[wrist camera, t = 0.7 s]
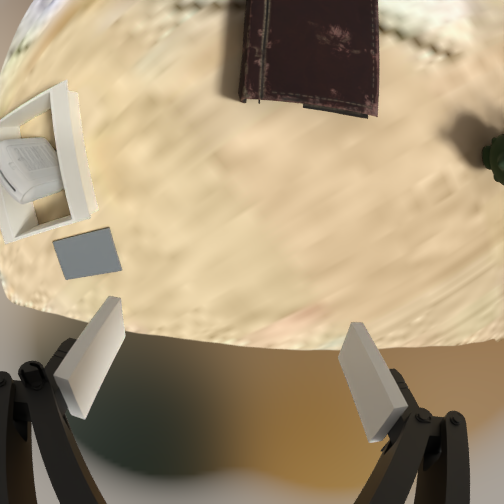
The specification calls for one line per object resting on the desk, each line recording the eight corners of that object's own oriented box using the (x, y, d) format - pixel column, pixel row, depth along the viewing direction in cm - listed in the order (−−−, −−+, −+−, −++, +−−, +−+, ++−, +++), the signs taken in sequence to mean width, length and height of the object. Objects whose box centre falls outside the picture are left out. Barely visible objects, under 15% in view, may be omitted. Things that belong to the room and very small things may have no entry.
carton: (9, 130, 33) (-17, 132, 26) (91, 86, 32) (66, 79, 26) (29, 231, 40) (5, 244, 33) (112, 206, 39) (90, 218, 32)
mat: (54, 241, 40) (52, 242, 40) (109, 227, 40) (108, 228, 40) (67, 278, 43) (65, 279, 42) (122, 269, 42) (121, 270, 42)
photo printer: (31, 152, 35) (-20, 161, 23) (44, 132, 34) (-8, 136, 22) (62, 195, 38) (13, 214, 26) (77, 175, 37) (26, 190, 25)
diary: (238, 103, 35) (237, 97, 31) (250, -35, 27) (250, -51, 22) (370, 120, 36) (385, 117, 31) (368, -15, 27) (379, -28, 22)
